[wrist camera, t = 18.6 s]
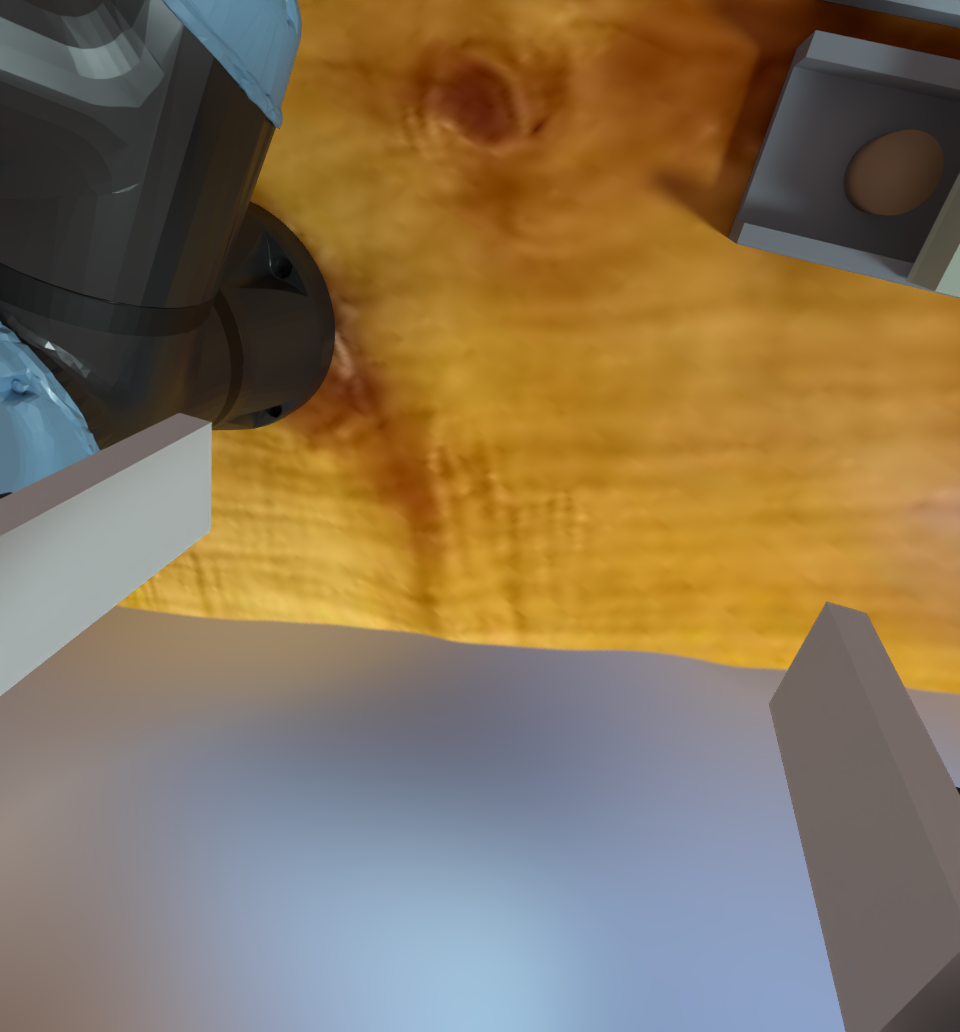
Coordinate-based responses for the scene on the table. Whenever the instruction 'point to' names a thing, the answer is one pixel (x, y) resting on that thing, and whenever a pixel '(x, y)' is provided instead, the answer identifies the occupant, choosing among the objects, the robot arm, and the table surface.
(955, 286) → the cover
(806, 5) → the table surface
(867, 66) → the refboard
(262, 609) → the table surface
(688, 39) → the table surface
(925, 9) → the socket
